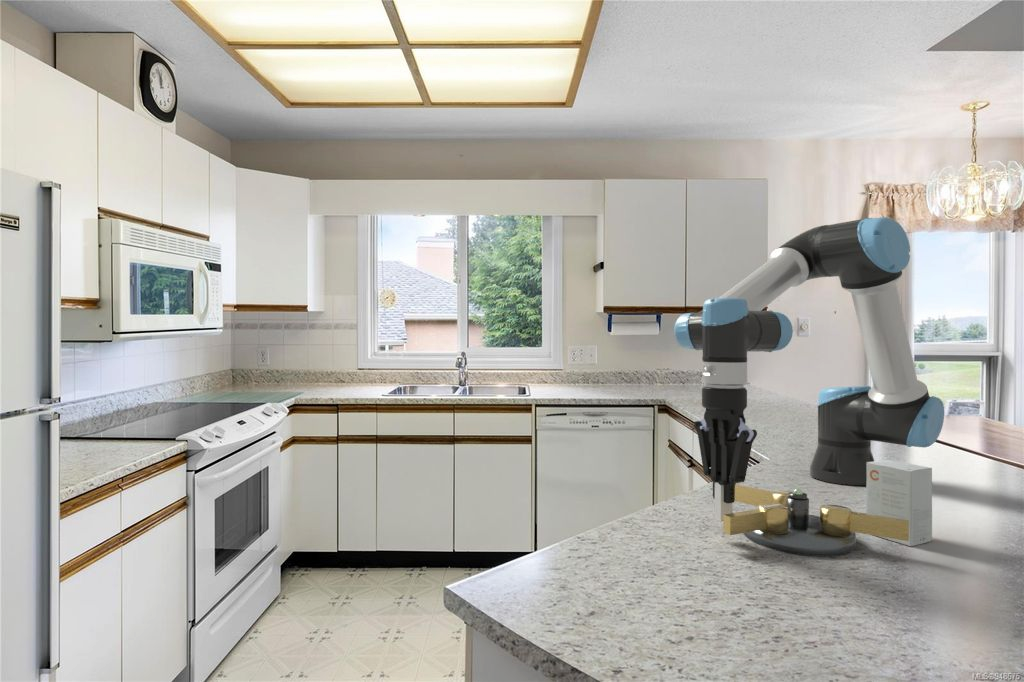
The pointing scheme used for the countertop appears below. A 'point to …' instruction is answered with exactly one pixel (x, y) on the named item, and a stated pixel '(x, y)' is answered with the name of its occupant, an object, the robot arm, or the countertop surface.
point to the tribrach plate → (804, 533)
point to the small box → (901, 496)
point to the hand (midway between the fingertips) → (723, 519)
